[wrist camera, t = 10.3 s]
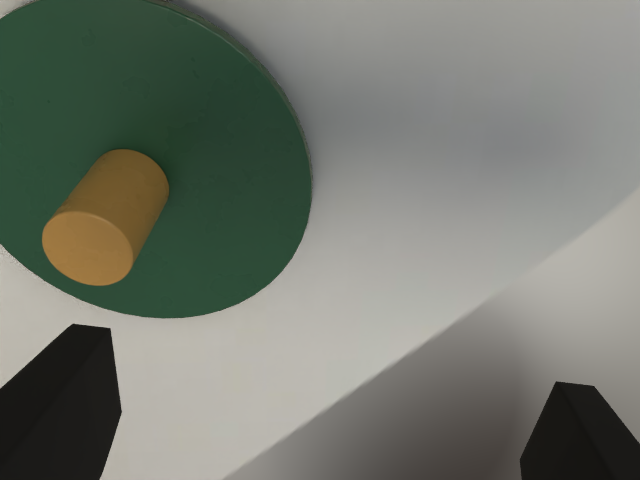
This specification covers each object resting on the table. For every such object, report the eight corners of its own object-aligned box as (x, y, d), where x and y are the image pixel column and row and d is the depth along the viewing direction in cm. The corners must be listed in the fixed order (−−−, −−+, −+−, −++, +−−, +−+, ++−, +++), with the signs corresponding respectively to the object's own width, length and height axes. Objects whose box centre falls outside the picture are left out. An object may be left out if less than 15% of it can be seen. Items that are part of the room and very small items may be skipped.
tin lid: (386, 136, 19) (390, 220, 15) (206, 343, 24) (175, 443, 20) (40, -111, 16) (-69, -86, 12) (-76, 192, 21) (-176, 277, 17)
